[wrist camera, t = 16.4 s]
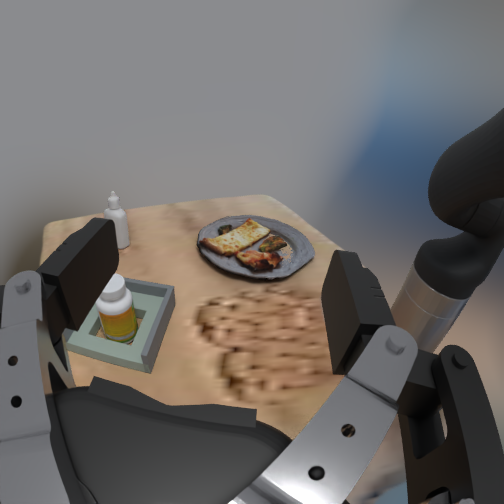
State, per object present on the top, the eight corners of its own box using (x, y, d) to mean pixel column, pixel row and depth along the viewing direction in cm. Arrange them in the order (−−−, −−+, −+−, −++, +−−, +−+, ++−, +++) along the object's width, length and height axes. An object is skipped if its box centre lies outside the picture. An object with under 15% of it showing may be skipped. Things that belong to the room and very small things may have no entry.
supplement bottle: (144, 337, 40) (136, 287, 35) (112, 351, 37) (97, 301, 31) (129, 315, 43) (121, 265, 38) (99, 327, 40) (86, 277, 35)
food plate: (260, 302, 50) (264, 286, 48) (174, 246, 61) (174, 231, 59) (327, 253, 67) (331, 240, 65) (250, 216, 79) (252, 204, 77)
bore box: (150, 373, 35) (146, 356, 33) (67, 349, 35) (58, 331, 33) (175, 304, 47) (174, 286, 44) (102, 291, 46) (98, 272, 44)
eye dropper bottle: (124, 235, 62) (120, 185, 56) (131, 247, 58) (126, 194, 52) (106, 239, 60) (100, 189, 53) (111, 252, 56) (104, 198, 50)
